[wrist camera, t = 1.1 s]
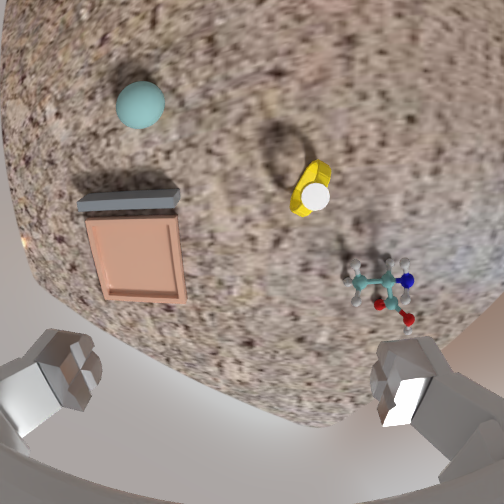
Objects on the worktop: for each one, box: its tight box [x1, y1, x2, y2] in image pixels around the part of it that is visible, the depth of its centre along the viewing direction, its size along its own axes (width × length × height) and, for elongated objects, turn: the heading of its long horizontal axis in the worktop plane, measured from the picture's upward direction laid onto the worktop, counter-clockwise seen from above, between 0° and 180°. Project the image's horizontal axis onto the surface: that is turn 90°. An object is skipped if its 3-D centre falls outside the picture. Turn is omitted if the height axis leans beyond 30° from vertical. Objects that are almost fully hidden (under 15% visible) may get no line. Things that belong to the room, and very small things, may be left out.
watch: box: [290, 159, 331, 217], centre depth 31 cm, size 6×3×6 cm, turn 153°
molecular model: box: [343, 258, 415, 335], centre depth 36 cm, size 12×10×10 cm
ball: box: [116, 81, 165, 129], centre depth 27 cm, size 5×5×5 cm
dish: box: [85, 214, 187, 304], centre depth 38 cm, size 12×12×1 cm
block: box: [77, 189, 180, 212], centre depth 33 cm, size 1×12×3 cm, turn 90°
